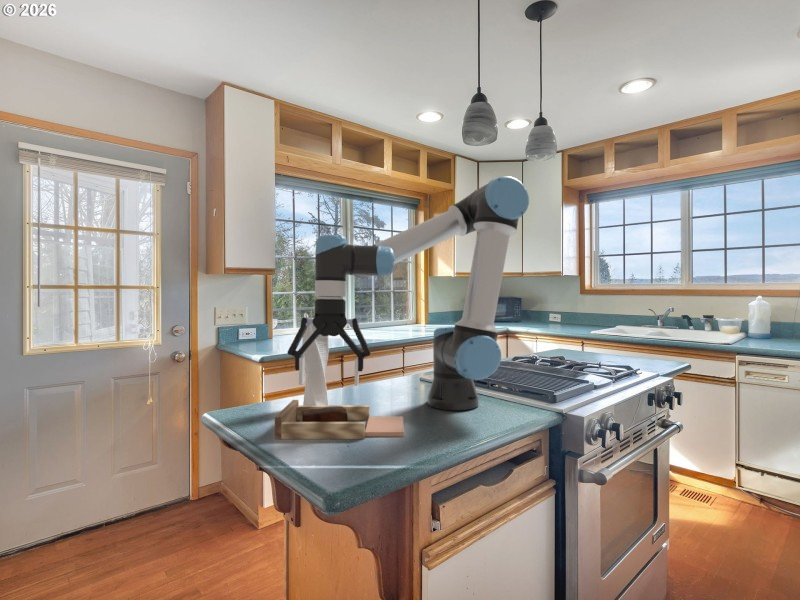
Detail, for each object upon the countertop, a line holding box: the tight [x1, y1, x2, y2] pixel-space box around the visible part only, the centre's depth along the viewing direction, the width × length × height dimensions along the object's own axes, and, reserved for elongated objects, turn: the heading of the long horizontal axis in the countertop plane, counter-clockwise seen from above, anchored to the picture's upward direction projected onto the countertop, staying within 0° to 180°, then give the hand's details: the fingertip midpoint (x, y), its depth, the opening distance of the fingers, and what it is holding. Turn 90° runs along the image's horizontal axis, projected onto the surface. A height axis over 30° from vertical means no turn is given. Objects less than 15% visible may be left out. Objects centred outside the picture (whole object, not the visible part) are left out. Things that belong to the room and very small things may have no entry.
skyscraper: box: [301, 312, 330, 405], centre depth 124 cm, size 8×8×28 cm
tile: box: [365, 415, 405, 437], centre depth 106 cm, size 9×13×1 cm
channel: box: [274, 399, 371, 440], centre depth 106 cm, size 20×16×5 cm
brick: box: [301, 406, 349, 422], centre depth 104 cm, size 11×4×5 cm, turn 104°
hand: (329, 384), depth 106 cm, fingers open, 13 cm apart
